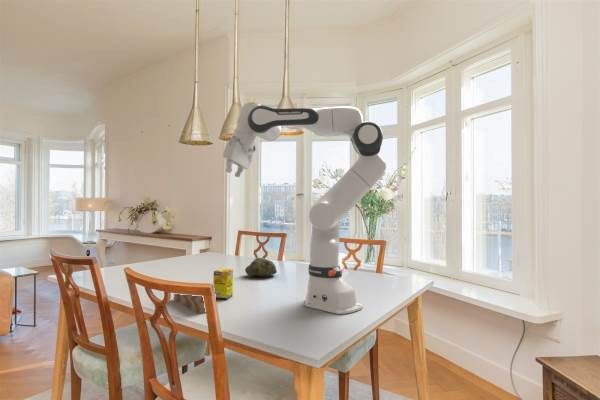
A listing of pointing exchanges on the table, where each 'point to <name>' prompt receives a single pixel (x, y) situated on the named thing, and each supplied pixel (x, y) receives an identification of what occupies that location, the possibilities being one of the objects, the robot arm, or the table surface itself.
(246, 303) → the table surface
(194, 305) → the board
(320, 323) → the table surface
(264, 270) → the decorative rock
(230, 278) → the supplement box
